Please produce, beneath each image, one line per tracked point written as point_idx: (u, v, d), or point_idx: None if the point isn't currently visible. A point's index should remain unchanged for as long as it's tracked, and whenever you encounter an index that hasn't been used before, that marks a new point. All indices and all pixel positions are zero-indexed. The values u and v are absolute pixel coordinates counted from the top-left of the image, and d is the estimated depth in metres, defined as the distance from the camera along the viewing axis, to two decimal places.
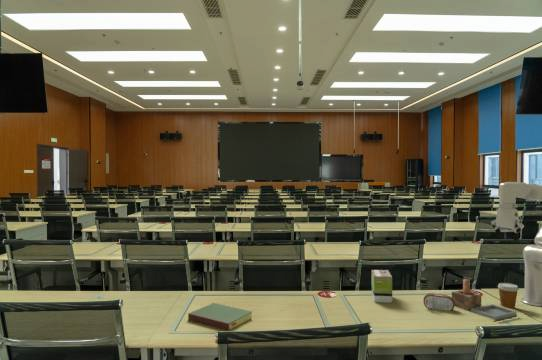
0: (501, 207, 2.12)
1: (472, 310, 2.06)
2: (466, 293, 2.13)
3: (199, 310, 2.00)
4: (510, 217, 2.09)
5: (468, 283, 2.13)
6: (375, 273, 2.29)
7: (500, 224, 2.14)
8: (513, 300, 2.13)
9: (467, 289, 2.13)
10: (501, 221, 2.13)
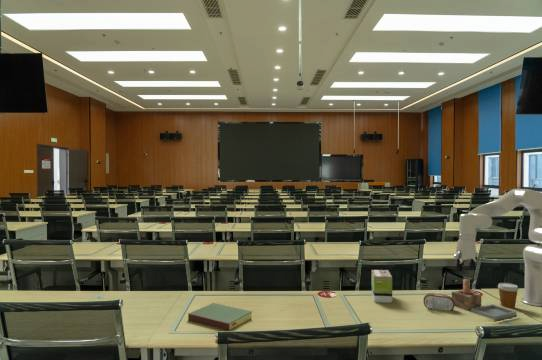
0: (472, 239, 2.11)
1: (472, 310, 2.06)
2: (466, 293, 2.13)
3: (199, 310, 2.00)
4: (474, 248, 2.14)
5: (468, 283, 2.13)
6: (375, 273, 2.29)
7: (467, 256, 2.11)
8: (513, 300, 2.13)
9: (467, 289, 2.13)
10: (468, 253, 2.12)
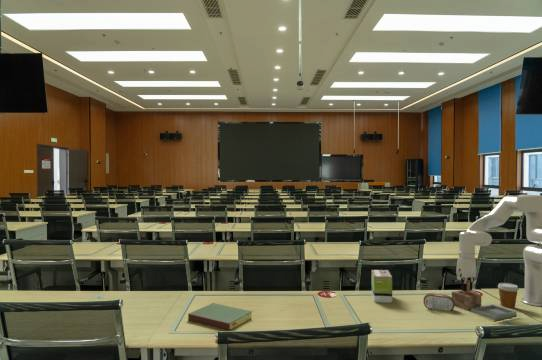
0: (472, 257, 2.11)
1: (472, 310, 2.06)
2: (466, 293, 2.13)
3: (199, 310, 2.00)
4: (474, 266, 2.14)
5: (468, 283, 2.13)
6: (375, 273, 2.29)
7: (467, 274, 2.12)
8: (513, 300, 2.13)
9: (467, 289, 2.13)
10: (468, 271, 2.12)
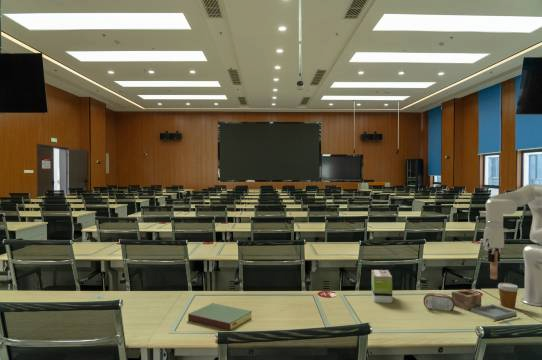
0: (500, 226, 2.00)
1: (472, 310, 2.06)
2: (494, 264, 2.03)
3: (199, 310, 2.00)
4: (502, 236, 2.03)
5: (496, 254, 2.03)
6: (375, 273, 2.29)
7: (495, 245, 2.01)
8: (513, 300, 2.13)
9: (495, 260, 2.03)
10: (496, 241, 2.01)
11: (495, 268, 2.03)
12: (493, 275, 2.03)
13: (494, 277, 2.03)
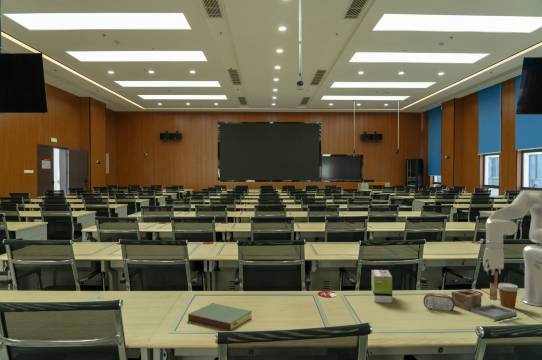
0: (500, 247, 2.00)
1: (472, 310, 2.06)
2: (493, 285, 2.03)
3: (199, 310, 2.00)
4: (502, 257, 2.03)
5: (496, 275, 2.03)
6: (375, 273, 2.29)
7: (495, 265, 2.01)
8: (513, 300, 2.13)
9: (495, 281, 2.03)
10: (496, 262, 2.01)
11: (495, 289, 2.03)
12: (493, 296, 2.03)
13: (494, 298, 2.03)
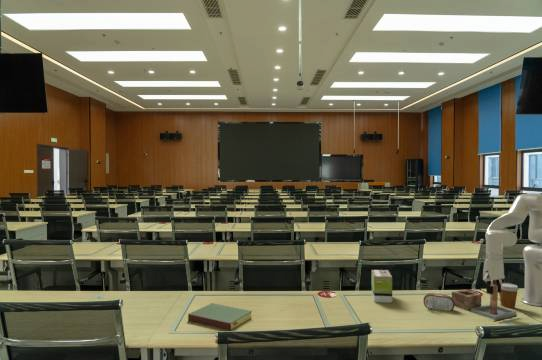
0: (500, 259, 2.01)
1: (472, 310, 2.06)
2: (494, 299, 2.03)
3: (199, 310, 2.00)
4: (502, 268, 2.04)
5: (496, 289, 2.03)
6: (375, 273, 2.29)
7: (495, 277, 2.01)
8: (513, 300, 2.13)
9: (495, 295, 2.03)
10: (496, 273, 2.02)
11: (495, 303, 2.03)
12: (493, 310, 2.03)
13: (494, 312, 2.03)
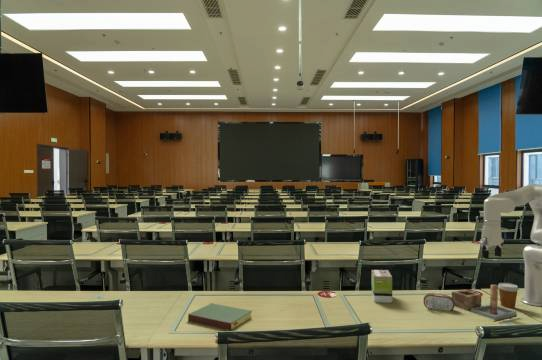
0: (498, 225, 2.03)
1: (472, 310, 2.06)
2: (494, 299, 2.03)
3: (198, 310, 2.00)
4: (500, 234, 2.06)
5: (496, 289, 2.03)
6: (375, 273, 2.29)
7: (493, 243, 2.04)
8: (513, 300, 2.13)
9: (495, 295, 2.03)
10: (494, 240, 2.04)
11: (495, 303, 2.03)
12: (493, 310, 2.03)
13: (494, 312, 2.03)
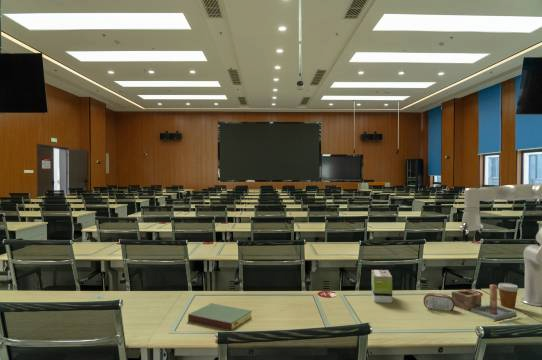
0: (476, 211, 2.24)
1: (472, 310, 2.06)
2: (493, 299, 2.03)
3: (198, 311, 1.99)
4: (479, 220, 2.27)
5: (495, 289, 2.03)
6: (375, 273, 2.29)
7: (472, 228, 2.25)
8: (513, 300, 2.13)
9: (494, 295, 2.03)
10: (473, 225, 2.25)
11: (495, 303, 2.03)
12: (493, 310, 2.03)
13: (494, 312, 2.03)
